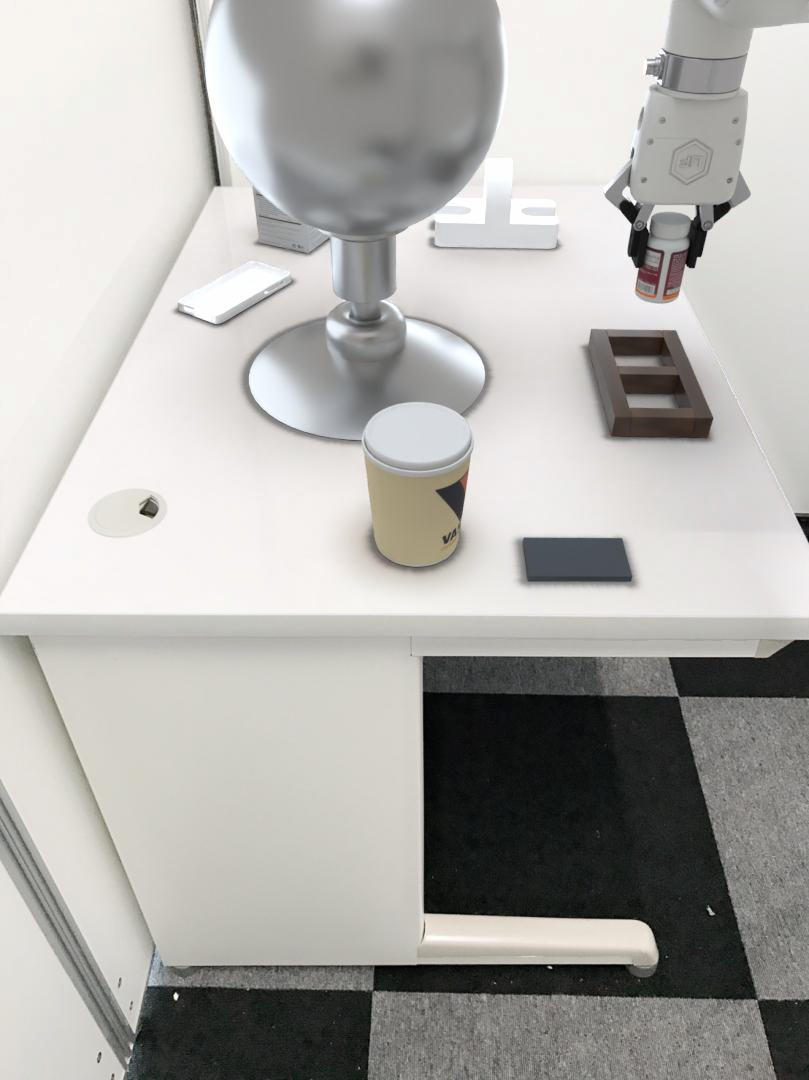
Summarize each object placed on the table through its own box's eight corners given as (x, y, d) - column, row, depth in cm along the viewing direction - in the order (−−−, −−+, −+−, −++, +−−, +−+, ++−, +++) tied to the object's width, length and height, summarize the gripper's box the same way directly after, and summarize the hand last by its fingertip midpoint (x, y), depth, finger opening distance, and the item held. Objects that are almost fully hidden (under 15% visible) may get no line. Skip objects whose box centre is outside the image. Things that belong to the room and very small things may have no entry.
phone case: (253, 268, 120) (176, 310, 111) (252, 259, 119) (174, 300, 110) (293, 281, 117) (218, 325, 108) (292, 272, 116) (216, 316, 107)
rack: (671, 348, 104) (676, 329, 102) (708, 437, 90) (713, 417, 88) (587, 347, 104) (590, 328, 102) (611, 436, 90) (615, 416, 88)
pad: (621, 542, 78) (622, 537, 77) (631, 581, 74) (632, 576, 74) (522, 542, 78) (523, 537, 77) (528, 580, 74) (528, 575, 74)
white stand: (435, 221, 132) (437, 148, 125) (551, 222, 132) (559, 150, 125) (434, 246, 125) (436, 171, 118) (556, 248, 125) (566, 173, 118)
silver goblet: (533, 371, 100) (590, -110, 69) (359, 473, 85) (334, -77, 55) (373, 294, 114) (362, -132, 84) (201, 370, 100) (113, -111, 69)
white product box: (289, 221, 132) (280, 118, 122) (339, 232, 129) (334, 127, 119) (256, 243, 126) (243, 136, 116) (308, 254, 123) (299, 146, 113)
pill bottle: (675, 286, 95) (691, 210, 89) (681, 305, 91) (698, 227, 85) (631, 284, 95) (645, 209, 89) (636, 303, 91) (650, 226, 86)
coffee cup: (461, 579, 74) (467, 470, 66) (356, 567, 75) (350, 458, 67) (472, 511, 81) (480, 404, 73) (376, 501, 82) (373, 395, 74)
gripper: (614, 83, 76) (587, 278, 88) (806, 83, 75) (752, 278, 88) (602, 63, 82) (577, 248, 94) (780, 62, 81) (733, 249, 93)
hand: (662, 261), depth 90 cm, fingers closed on pill bottle, 4 cm apart
